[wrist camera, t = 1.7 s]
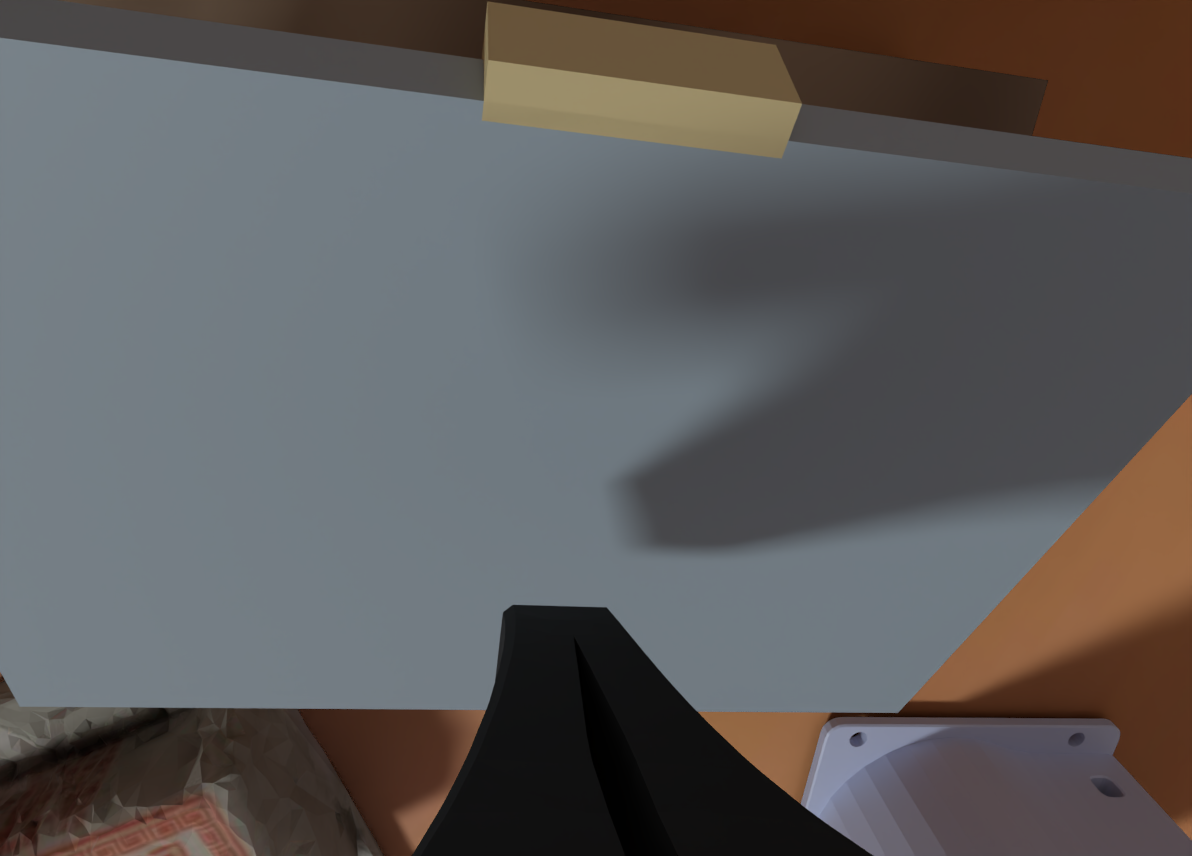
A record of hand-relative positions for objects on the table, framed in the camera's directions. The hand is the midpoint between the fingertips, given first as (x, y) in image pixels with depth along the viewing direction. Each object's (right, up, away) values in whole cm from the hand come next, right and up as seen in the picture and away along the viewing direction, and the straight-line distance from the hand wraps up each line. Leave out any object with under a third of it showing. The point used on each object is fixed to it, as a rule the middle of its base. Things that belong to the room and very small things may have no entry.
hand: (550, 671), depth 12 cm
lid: (0, +3, +2) cm, 4 cm away
